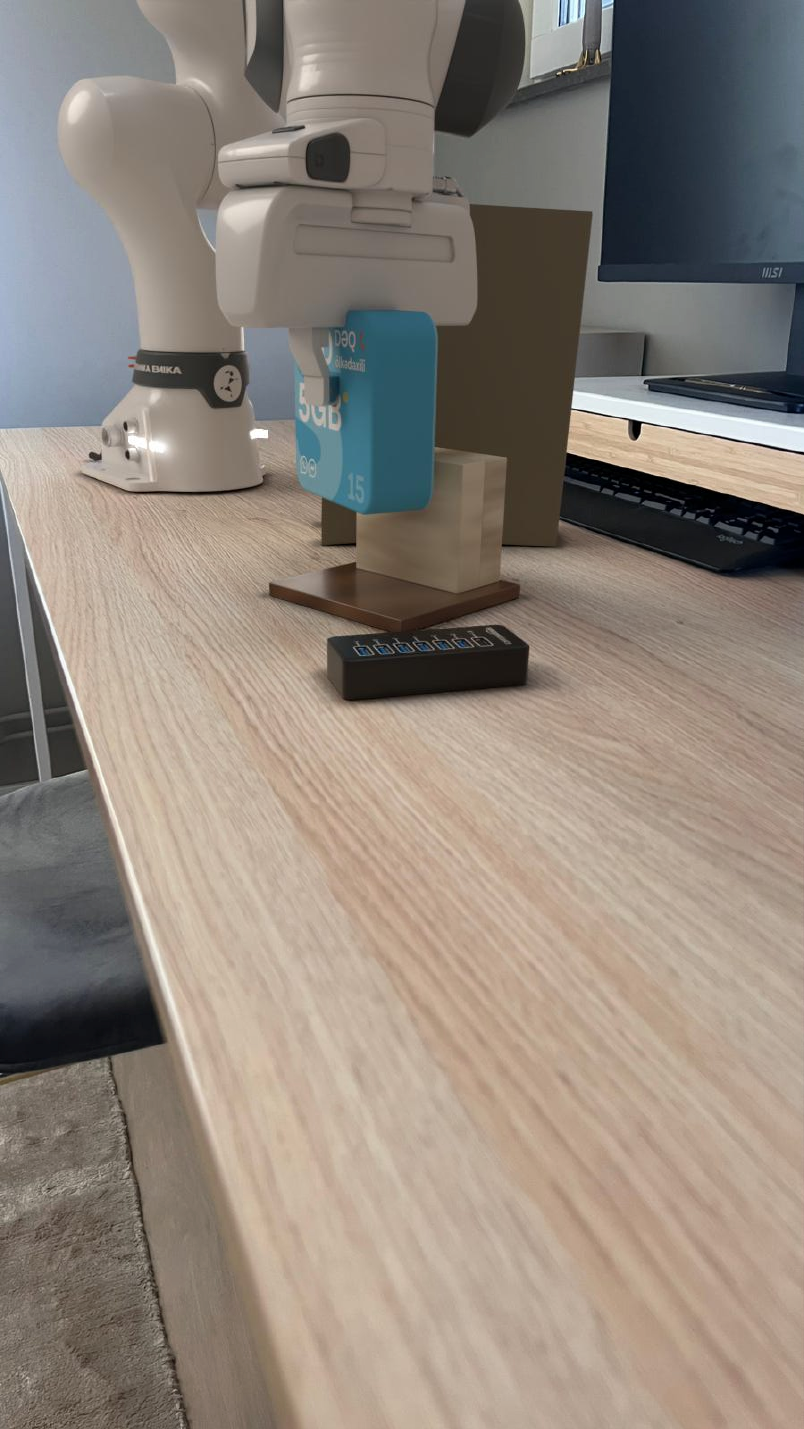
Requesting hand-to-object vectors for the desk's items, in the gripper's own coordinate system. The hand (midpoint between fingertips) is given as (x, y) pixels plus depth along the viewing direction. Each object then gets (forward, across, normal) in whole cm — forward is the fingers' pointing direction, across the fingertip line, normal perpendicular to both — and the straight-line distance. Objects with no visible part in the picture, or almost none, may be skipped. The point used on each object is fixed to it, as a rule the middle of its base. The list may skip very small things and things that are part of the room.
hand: (359, 402), depth 68 cm
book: (+14, -22, -11) cm, 29 cm away
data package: (+6, 0, 0) cm, 7 cm away
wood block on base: (+14, -4, 0) cm, 14 cm away
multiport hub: (+14, +8, +13) cm, 21 cm away
